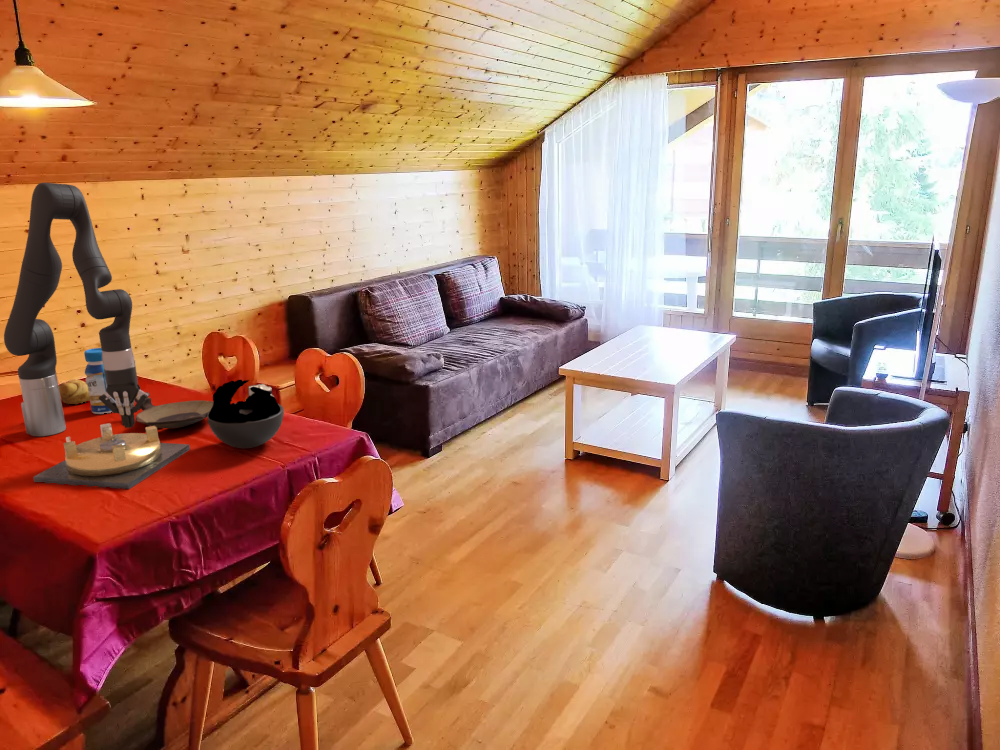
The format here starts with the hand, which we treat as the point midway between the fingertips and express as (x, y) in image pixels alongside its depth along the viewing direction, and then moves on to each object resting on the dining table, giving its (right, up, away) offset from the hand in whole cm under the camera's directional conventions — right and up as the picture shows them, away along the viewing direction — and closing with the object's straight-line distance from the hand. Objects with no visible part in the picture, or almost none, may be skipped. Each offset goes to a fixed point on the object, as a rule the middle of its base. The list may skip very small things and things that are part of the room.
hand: (129, 426), depth 199 cm
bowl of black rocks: (+31, -6, +5) cm, 32 cm away
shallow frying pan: (+2, -1, +25) cm, 25 cm away
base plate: (0, -10, -7) cm, 12 cm away
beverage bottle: (-26, +2, +36) cm, 44 cm away
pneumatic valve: (+29, -1, +24) cm, 38 cm away
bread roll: (-41, +5, +46) cm, 62 cm away
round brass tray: (0, -8, -8) cm, 11 cm away
